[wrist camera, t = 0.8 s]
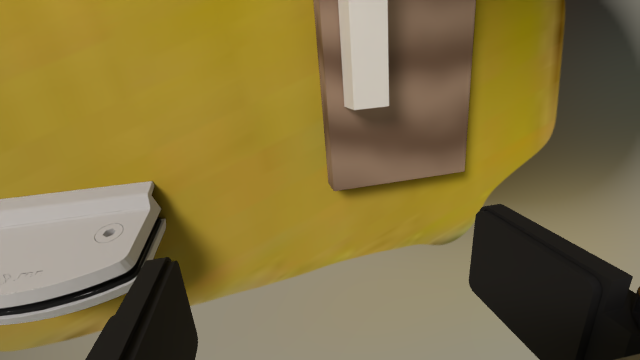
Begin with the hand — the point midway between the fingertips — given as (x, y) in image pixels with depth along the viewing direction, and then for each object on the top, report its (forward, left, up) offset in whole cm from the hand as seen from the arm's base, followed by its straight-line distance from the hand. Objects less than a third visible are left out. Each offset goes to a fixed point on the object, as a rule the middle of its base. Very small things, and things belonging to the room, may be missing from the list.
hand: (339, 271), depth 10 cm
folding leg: (-9, +7, -20) cm, 23 cm away
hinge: (+7, -21, -23) cm, 32 cm away
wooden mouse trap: (-6, +11, -23) cm, 26 cm away
